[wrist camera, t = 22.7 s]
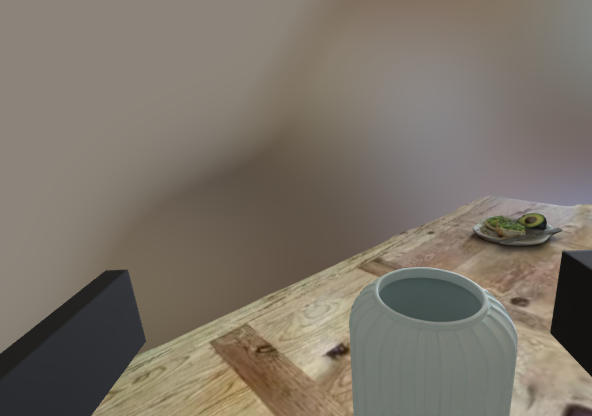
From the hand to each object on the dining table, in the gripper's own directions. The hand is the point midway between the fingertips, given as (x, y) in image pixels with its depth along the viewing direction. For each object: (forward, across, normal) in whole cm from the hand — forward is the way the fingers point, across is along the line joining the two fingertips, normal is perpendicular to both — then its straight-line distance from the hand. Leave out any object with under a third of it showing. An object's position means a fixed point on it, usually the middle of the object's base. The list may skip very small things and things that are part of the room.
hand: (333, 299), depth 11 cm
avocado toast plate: (+79, +46, -32) cm, 97 cm away
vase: (+14, +7, -30) cm, 34 cm away
